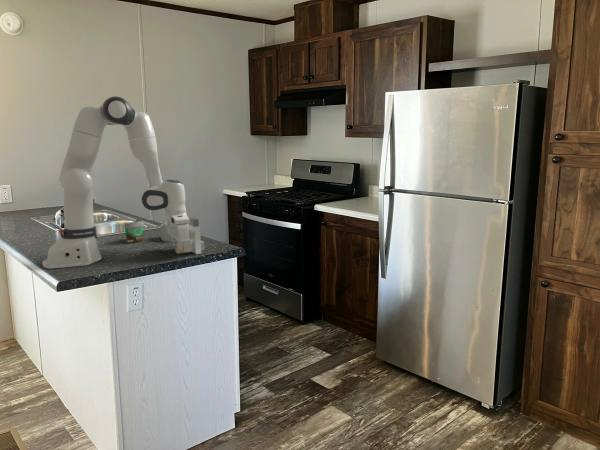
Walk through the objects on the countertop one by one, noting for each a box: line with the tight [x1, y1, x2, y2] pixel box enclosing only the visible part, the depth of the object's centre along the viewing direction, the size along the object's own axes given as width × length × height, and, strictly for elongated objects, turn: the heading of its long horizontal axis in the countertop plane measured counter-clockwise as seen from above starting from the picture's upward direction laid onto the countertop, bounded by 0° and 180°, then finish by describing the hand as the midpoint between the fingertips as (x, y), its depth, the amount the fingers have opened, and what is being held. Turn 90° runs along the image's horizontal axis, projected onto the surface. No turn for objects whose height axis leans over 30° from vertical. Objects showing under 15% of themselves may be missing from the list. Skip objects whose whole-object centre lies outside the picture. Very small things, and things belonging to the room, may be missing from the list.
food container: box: [123, 218, 145, 244], centre depth 246 cm, size 12×6×10 cm, turn 168°
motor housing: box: [184, 216, 202, 255], centre depth 227 cm, size 2×15×15 cm, turn 31°
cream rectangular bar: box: [174, 240, 206, 254], centre depth 227 cm, size 12×4×4 cm, turn 121°
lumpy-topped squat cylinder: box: [160, 221, 178, 243], centre depth 251 cm, size 10×13×9 cm
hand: (177, 247), depth 224 cm, fingers open, 5 cm apart
